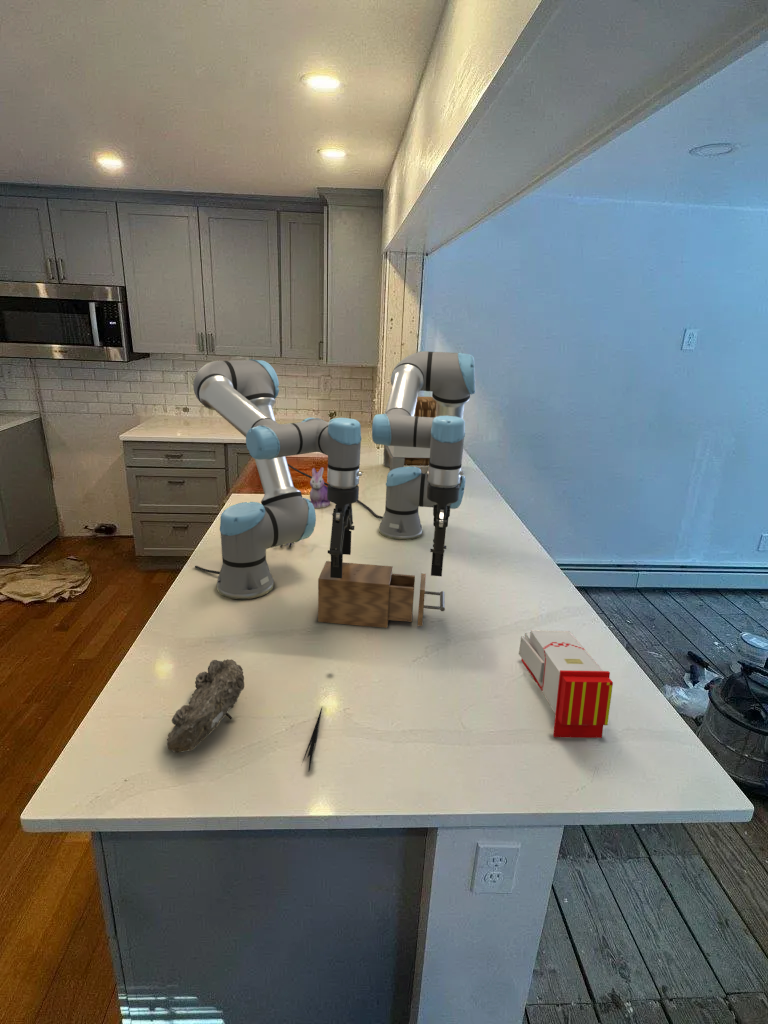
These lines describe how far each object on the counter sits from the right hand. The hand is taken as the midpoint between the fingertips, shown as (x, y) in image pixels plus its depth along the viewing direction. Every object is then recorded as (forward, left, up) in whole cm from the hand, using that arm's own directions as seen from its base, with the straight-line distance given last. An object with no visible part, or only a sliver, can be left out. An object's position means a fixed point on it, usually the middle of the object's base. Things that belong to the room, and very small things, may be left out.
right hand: (436, 574), depth 140 cm
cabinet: (-14, -14, -13) cm, 24 cm away
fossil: (0, -59, -13) cm, 61 cm away
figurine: (-90, +27, -13) cm, 95 cm away
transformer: (-102, +94, -13) cm, 139 cm away
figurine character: (-65, -3, -13) cm, 66 cm away
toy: (+36, 0, -13) cm, 38 cm away
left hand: (-17, -16, 0) cm, 24 cm away
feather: (+13, -44, -13) cm, 47 cm away
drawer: (-6, -5, -12) cm, 15 cm away
